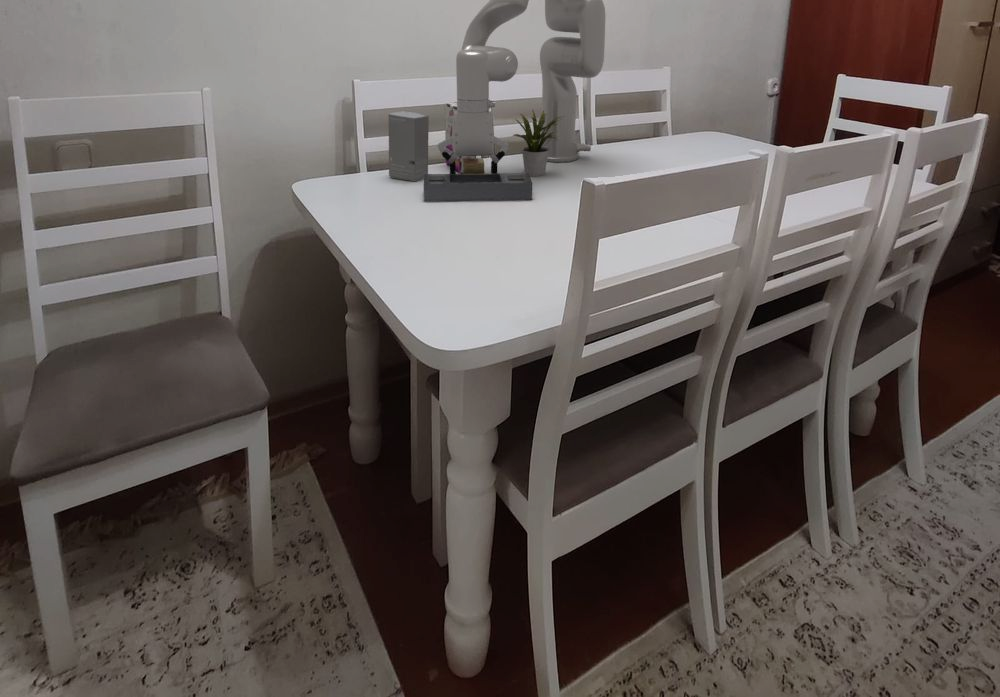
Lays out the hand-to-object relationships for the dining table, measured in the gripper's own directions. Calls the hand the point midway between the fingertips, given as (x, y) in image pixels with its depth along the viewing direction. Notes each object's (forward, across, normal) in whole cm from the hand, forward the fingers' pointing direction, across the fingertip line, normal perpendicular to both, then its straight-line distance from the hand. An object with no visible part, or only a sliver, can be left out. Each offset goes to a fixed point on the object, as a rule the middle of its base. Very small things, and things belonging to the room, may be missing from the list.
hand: (473, 178), depth 176 cm
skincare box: (+2, +16, -8) cm, 18 cm away
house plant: (+2, -17, -9) cm, 19 cm away
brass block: (+2, 0, 0) cm, 2 cm away
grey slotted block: (+2, -1, +10) cm, 10 cm away
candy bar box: (+2, +3, -17) cm, 17 cm away
